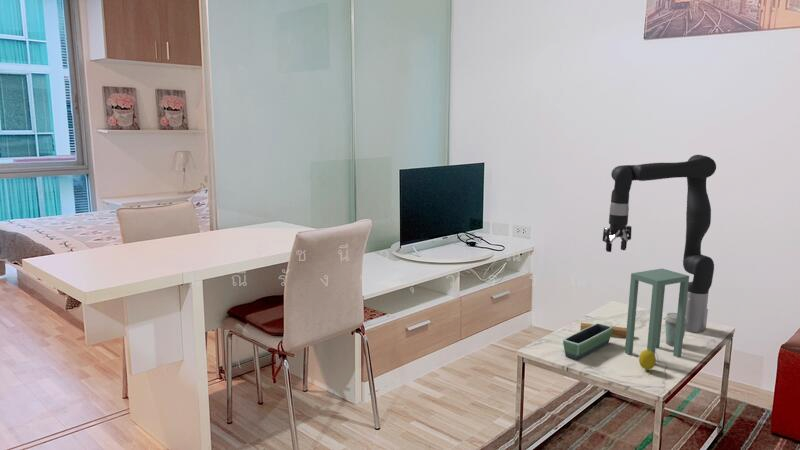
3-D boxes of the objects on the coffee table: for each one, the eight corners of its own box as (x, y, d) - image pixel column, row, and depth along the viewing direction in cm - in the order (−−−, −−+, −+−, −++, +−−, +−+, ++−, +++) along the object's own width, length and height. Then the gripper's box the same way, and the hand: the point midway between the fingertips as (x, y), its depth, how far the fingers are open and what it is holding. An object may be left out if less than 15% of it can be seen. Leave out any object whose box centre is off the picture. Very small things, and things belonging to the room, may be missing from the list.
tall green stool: (655, 345, 235) (662, 268, 229) (681, 356, 224) (689, 275, 219) (624, 352, 227) (631, 273, 222) (650, 364, 217) (657, 281, 211)
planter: (578, 362, 218) (579, 344, 217) (560, 357, 223) (562, 339, 222) (612, 343, 237) (613, 327, 236) (596, 339, 242) (597, 322, 241)
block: (580, 330, 252) (581, 322, 252) (630, 336, 246) (630, 328, 245) (580, 333, 249) (580, 325, 248) (630, 339, 243) (631, 331, 242)
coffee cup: (665, 347, 233) (668, 318, 231) (659, 339, 242) (662, 311, 240) (688, 348, 232) (691, 319, 230) (681, 340, 240) (684, 312, 238)
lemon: (635, 367, 214) (637, 346, 213) (649, 366, 215) (651, 346, 213) (642, 373, 209) (644, 352, 207) (657, 373, 209) (659, 352, 208)
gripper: (613, 215, 241) (610, 254, 244) (638, 213, 247) (634, 251, 250) (599, 213, 247) (597, 250, 250) (624, 211, 254) (621, 247, 256)
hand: (616, 250), depth 250 cm, fingers open, 8 cm apart
